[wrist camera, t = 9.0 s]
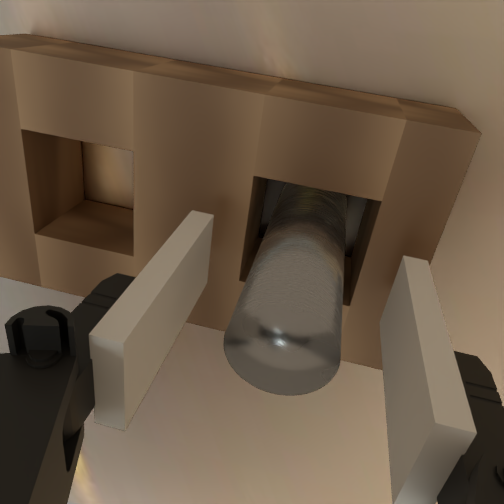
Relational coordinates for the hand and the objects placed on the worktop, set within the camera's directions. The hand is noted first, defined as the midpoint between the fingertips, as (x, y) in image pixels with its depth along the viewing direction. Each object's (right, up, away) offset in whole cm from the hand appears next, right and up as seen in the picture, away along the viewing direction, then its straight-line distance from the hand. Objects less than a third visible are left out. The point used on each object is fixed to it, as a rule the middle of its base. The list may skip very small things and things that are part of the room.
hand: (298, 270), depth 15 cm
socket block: (-3, +4, +6) cm, 7 cm away
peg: (+1, +3, +5) cm, 6 cm away
